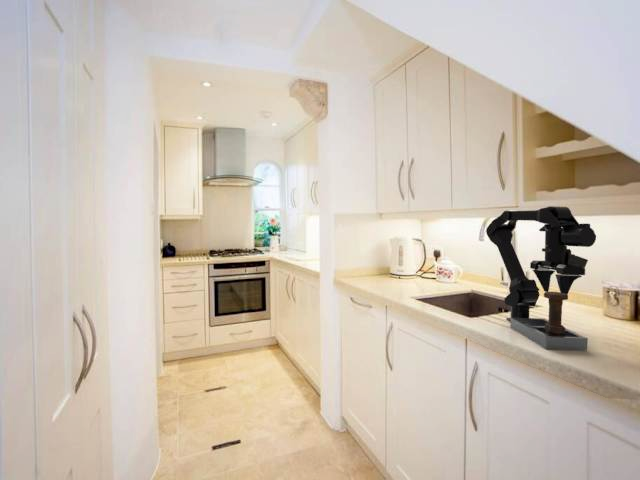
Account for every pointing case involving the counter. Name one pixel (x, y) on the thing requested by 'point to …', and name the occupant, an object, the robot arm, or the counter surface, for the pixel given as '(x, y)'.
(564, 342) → the grey divided tray
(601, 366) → the counter surface
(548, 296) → the bolt
